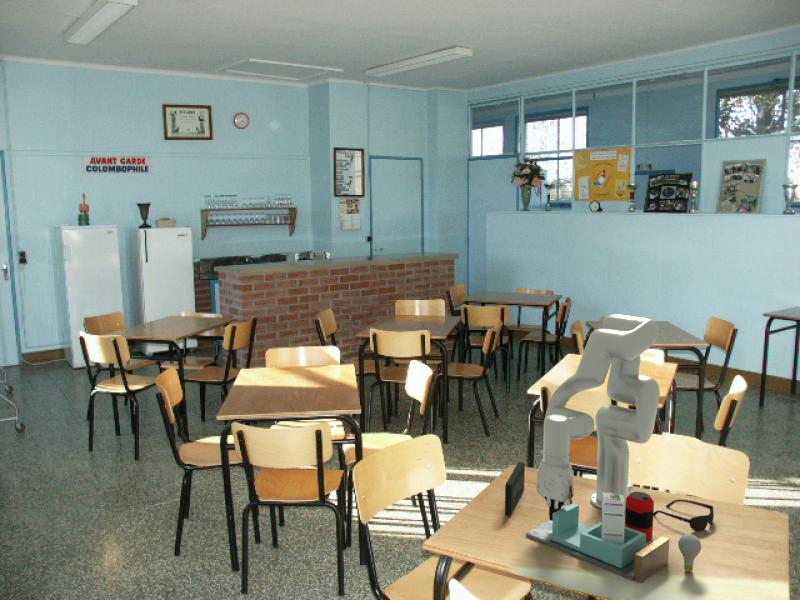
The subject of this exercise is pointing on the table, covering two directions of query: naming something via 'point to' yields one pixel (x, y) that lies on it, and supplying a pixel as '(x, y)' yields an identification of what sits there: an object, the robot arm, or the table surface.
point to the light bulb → (689, 550)
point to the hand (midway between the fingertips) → (554, 519)
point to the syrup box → (613, 518)
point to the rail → (636, 570)
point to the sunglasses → (695, 522)
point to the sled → (594, 538)
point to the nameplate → (514, 488)
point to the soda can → (640, 513)
